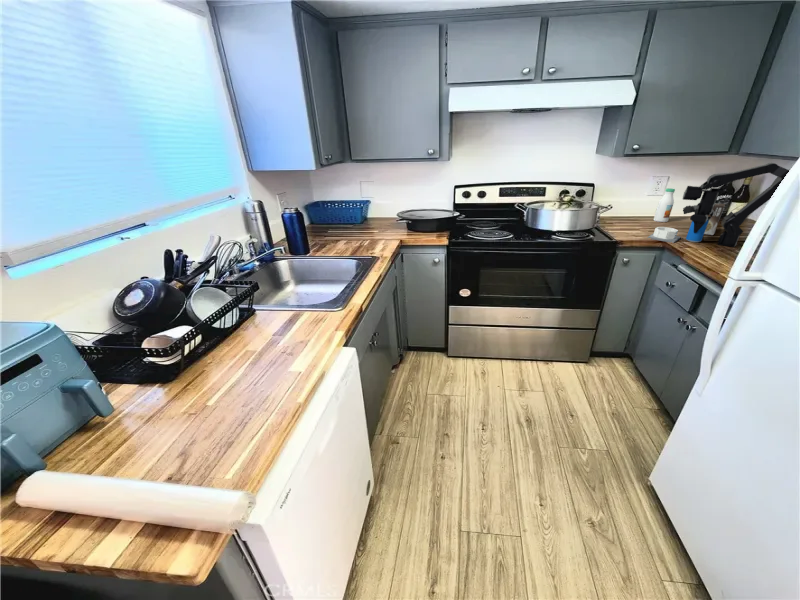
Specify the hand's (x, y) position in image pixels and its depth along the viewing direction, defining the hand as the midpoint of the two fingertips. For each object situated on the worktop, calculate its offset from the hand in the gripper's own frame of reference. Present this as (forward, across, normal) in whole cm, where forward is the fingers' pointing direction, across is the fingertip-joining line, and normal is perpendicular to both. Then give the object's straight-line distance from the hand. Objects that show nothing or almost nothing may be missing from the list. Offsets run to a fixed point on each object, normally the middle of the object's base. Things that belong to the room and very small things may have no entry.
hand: (696, 231), depth 176 cm
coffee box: (+6, -23, 0) cm, 24 cm away
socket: (+5, +4, -12) cm, 14 cm away
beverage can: (+5, 0, 0) cm, 5 cm away
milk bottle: (+5, -39, -25) cm, 47 cm away
